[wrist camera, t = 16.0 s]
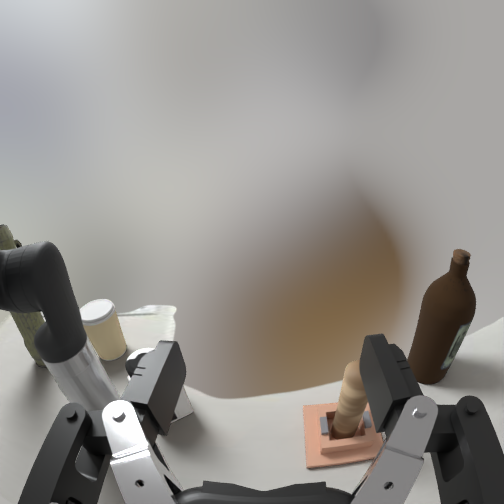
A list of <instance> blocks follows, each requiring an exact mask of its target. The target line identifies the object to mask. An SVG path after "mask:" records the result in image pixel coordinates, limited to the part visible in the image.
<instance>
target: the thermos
mask: <svg viewBox="0 0 504 504" xmlns="http://www.w3.org/2000/svg"><path fill="white" fill-rule="evenodd" d="M15 245H16V246H15ZM16 247H17V248H19V247H22V245H21V243H20V242H19V241H18V240H13V236H12V234H11V232H10V230H9V228H8V226H7V225H4V224H3V225H0V250H11V249H15V248H16ZM10 313H11V315H12V317H13V319H14V321H15V323H16V325H17V327H18V329H19V331H20V333H21V335H22V337H23V339H24V343H25V346H26V348H27V350H28V351H29V353H30V355H31V356H32V358H33V359H34V360H35V362H36V364H37V365H38V366H39V367H46V365H45V363H44V362H43V360H42V358H41V357H40V355H39V353H38V352H37V350H36V348H35V345H34V336H35V333H36V332H37V330H38V329H39V327H40V326H41V325H42V324H43V323H44V322H45V321H44V319H43V317H42V315H41V313H40V312H32V313H15V312H10Z"/></svg>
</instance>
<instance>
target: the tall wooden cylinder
mask: <svg viewBox="0 0 504 504" xmlns="http://www.w3.org/2000/svg"><path fill="white" fill-rule="evenodd" d="M359 362H360V360H355V361H353V362H351V363H349V364H348V365H347V367H346V369H345V374H344V378H343V383H342V388H341V392H340V397H339V401H338V405H337V409H336V413H335V417H334V421H333V425H332V428H331V434H332V436H333V437H334V438H335V439H336V440H339V439H346V438H353V436H354V435H355V433H356V431H357V428H358V426H359V424H360V421H361V419H362V416H363V414H364V411H365V408H366V406H367V403H368V399H367V396H366V392H365V389H364V385H363V382H362V379H361V375H360V370H359Z"/></svg>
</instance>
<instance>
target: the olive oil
mask: <svg viewBox="0 0 504 504" xmlns="http://www.w3.org/2000/svg"><path fill="white" fill-rule="evenodd" d="M469 259H470V253H469V252H467V251H465V250H461V249H457V250H454V252H453V258H452V260H451V265H450V270H449V272H448V273H446V274H445V275H443V276H442V277H440V278H438V279H437V280H435V281H434V282H433V283H432V284H431V285H430V286H429V288H428V289H427V291H426V293H425V295H424V297H423V301H422V305H421V310H420V315H419V320H418V325H417V328H416V332H415V336H414V340H413V343H412V347H411V350H410V353H409V357H408V359H407V361H408V363H409V365H410V369H412V372H413V374H414V376H415V378H416V380H417V382H420V383H423V384H434V383H437V382H439V381H440V380H442V379H443V377H444V376H445V374H446V373H447V371H448V369H449V367H450V365H451V363H452V361H453V359H454V357H455V355H456V353H457V352H458V350H459V348H460V346H461V343H462V341H463V339H464V337H465V335H466V333H467V331H468V329H469V326H470V324H471V322H472V320H473V317H474V314H475V309H476V298H475V294H474V291H473V289H472V287H471V285H470V283H469V281H468V279H467V276H466V275H467V271H468V267H469Z"/></svg>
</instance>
